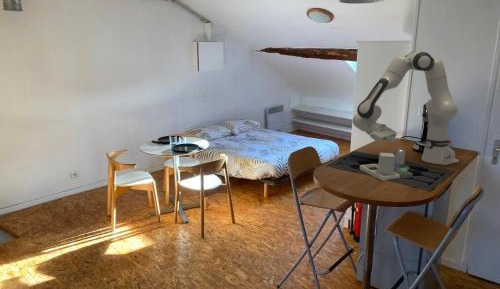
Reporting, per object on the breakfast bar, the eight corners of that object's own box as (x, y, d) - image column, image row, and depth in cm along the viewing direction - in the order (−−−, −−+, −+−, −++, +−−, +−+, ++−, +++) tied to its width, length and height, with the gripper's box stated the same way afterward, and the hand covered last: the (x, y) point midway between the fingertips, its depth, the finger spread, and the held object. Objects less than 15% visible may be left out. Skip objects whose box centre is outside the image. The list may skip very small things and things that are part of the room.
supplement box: (392, 179, 210) (395, 156, 206) (378, 178, 211) (380, 155, 208) (390, 174, 217) (393, 153, 213) (377, 173, 218) (379, 152, 215)
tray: (399, 166, 233) (399, 163, 232) (409, 170, 225) (409, 167, 225) (388, 167, 230) (388, 164, 230) (397, 171, 223) (398, 168, 222)
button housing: (403, 174, 218) (403, 169, 217) (412, 178, 212) (412, 173, 211) (393, 175, 216) (393, 170, 215) (401, 180, 209) (402, 174, 209)
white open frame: (359, 169, 226) (359, 165, 225) (375, 167, 230) (375, 163, 229) (383, 181, 207) (383, 176, 206) (399, 179, 211) (400, 174, 210)
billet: (399, 166, 231) (401, 148, 228) (405, 168, 226) (407, 150, 223) (392, 166, 229) (394, 148, 226) (398, 169, 224) (400, 151, 222)
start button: (403, 174, 216) (403, 167, 215) (408, 176, 212) (409, 169, 211) (397, 175, 215) (398, 168, 214) (402, 177, 211) (403, 170, 210)
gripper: (368, 128, 230) (388, 139, 221) (386, 124, 243) (405, 134, 235) (364, 137, 232) (384, 148, 224) (382, 132, 246) (400, 143, 238)
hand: (395, 141), depth 230 cm, fingers closed
